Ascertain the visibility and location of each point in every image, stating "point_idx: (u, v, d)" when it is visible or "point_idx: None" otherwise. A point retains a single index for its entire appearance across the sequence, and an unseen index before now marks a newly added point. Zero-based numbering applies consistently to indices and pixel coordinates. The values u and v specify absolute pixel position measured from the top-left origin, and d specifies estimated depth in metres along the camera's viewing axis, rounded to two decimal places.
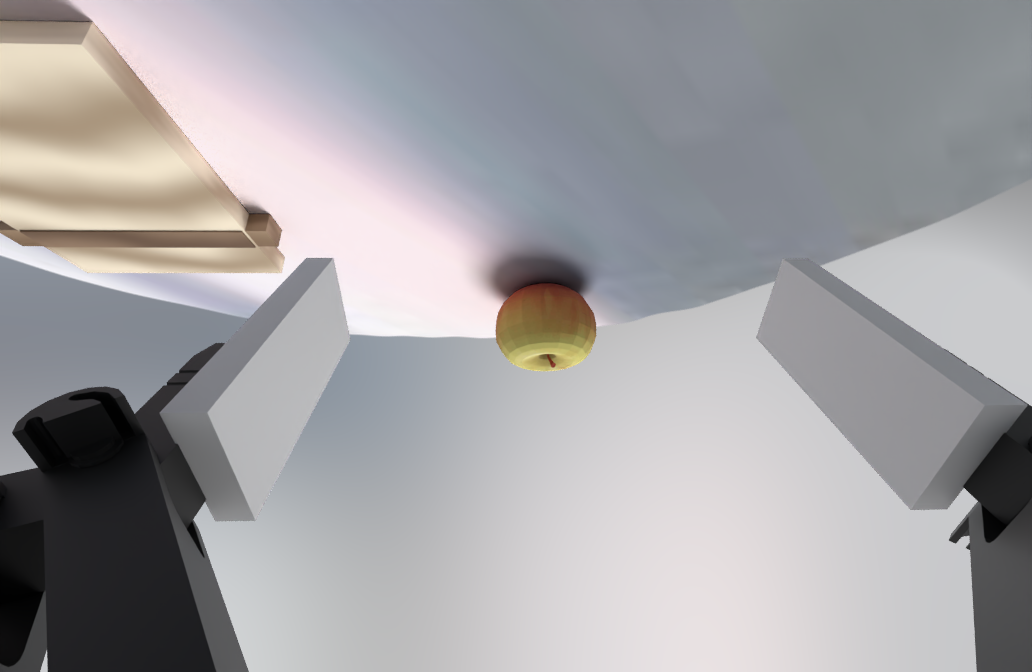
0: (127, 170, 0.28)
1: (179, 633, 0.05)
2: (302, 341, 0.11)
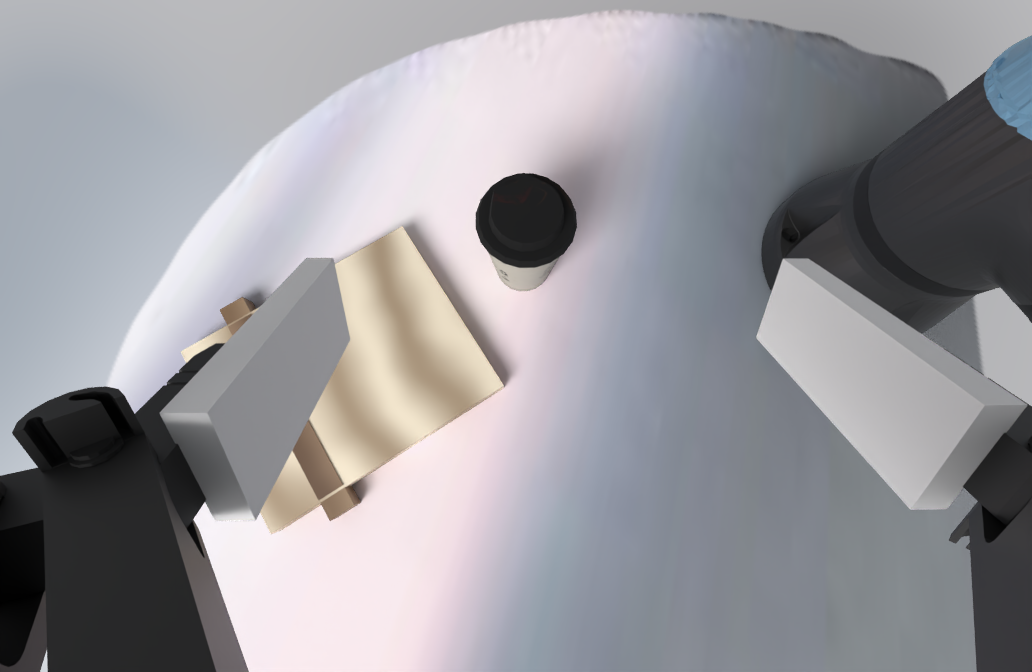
0: (391, 399, 0.35)
1: (180, 632, 0.05)
2: (302, 341, 0.11)
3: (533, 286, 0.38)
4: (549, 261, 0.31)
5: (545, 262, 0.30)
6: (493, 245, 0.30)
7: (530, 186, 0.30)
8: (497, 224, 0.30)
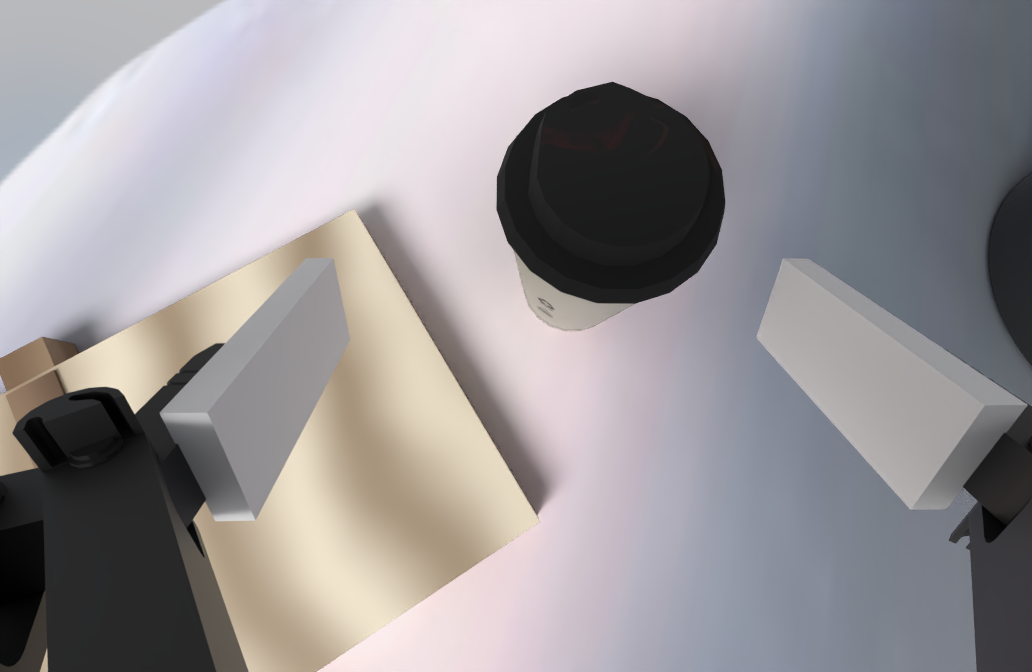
0: (318, 547, 0.18)
1: (181, 632, 0.05)
2: (302, 341, 0.11)
3: (593, 325, 0.21)
4: (667, 289, 0.13)
5: (658, 292, 0.13)
6: (538, 249, 0.13)
7: (629, 112, 0.13)
8: (551, 198, 0.12)
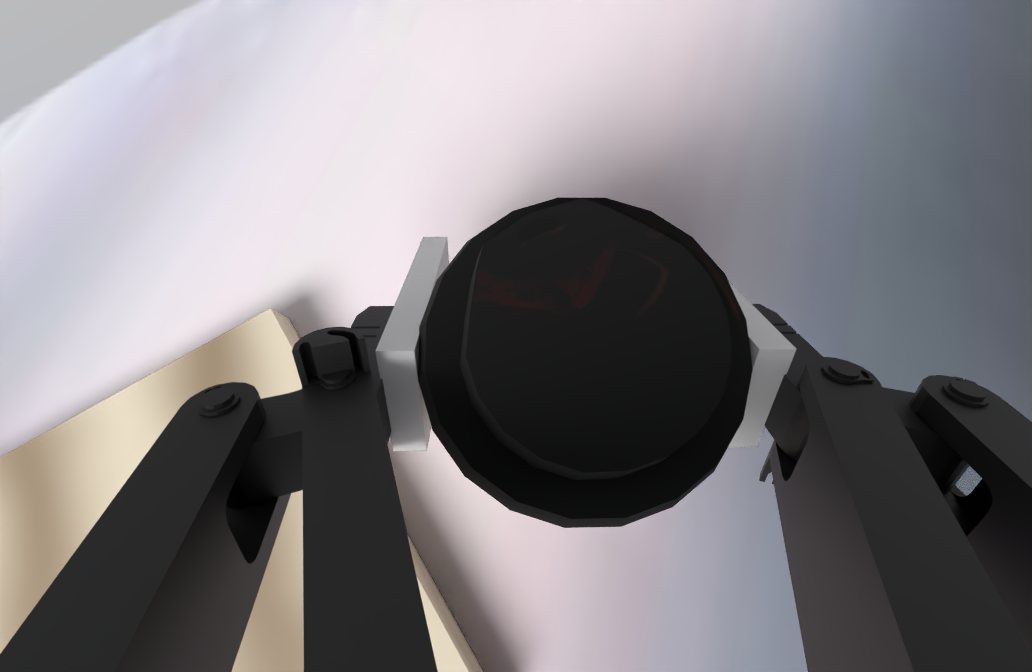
0: None
1: (393, 543, 0.06)
2: None
3: None
4: (670, 506, 0.09)
5: (657, 510, 0.09)
6: (474, 455, 0.08)
7: (608, 246, 0.09)
8: (488, 391, 0.08)
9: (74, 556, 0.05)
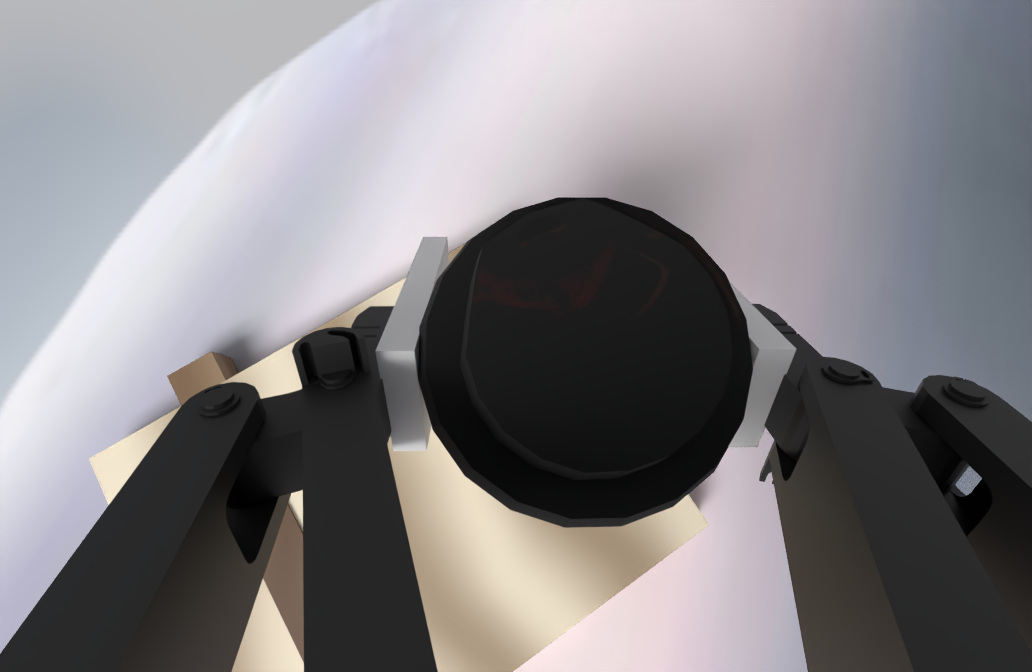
0: (498, 553, 0.18)
1: (392, 543, 0.06)
2: None
3: None
4: (670, 505, 0.09)
5: (657, 510, 0.09)
6: (474, 455, 0.08)
7: (608, 246, 0.08)
8: (488, 391, 0.08)
9: (76, 556, 0.05)
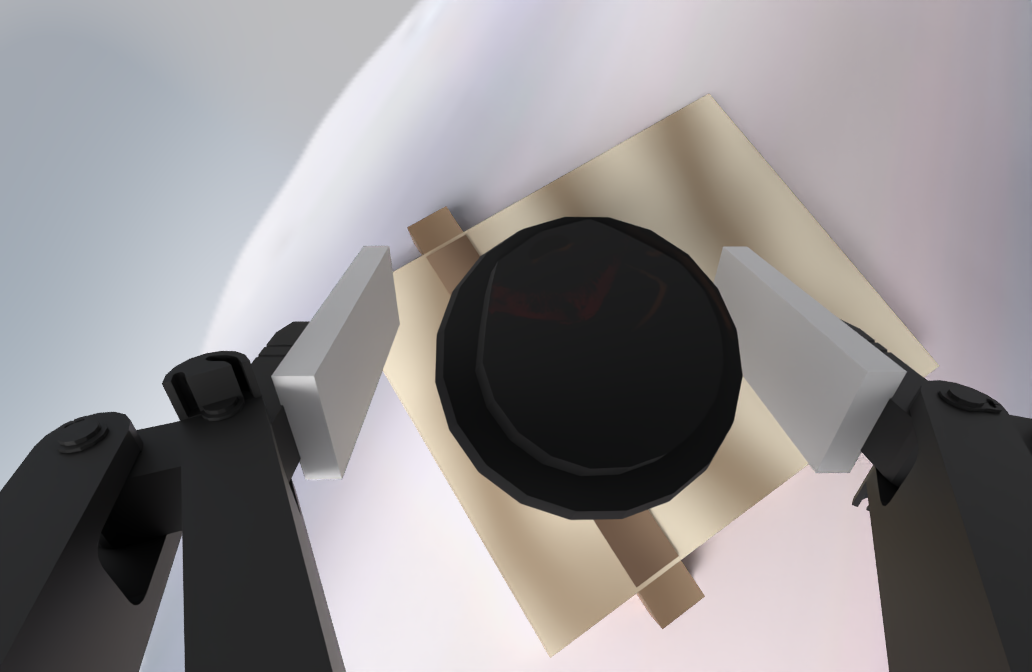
0: (741, 389, 0.19)
1: (289, 578, 0.05)
2: (370, 321, 0.12)
3: None
4: (667, 500, 0.10)
5: (655, 504, 0.10)
6: (488, 452, 0.09)
7: (612, 263, 0.09)
8: (503, 394, 0.09)
9: None
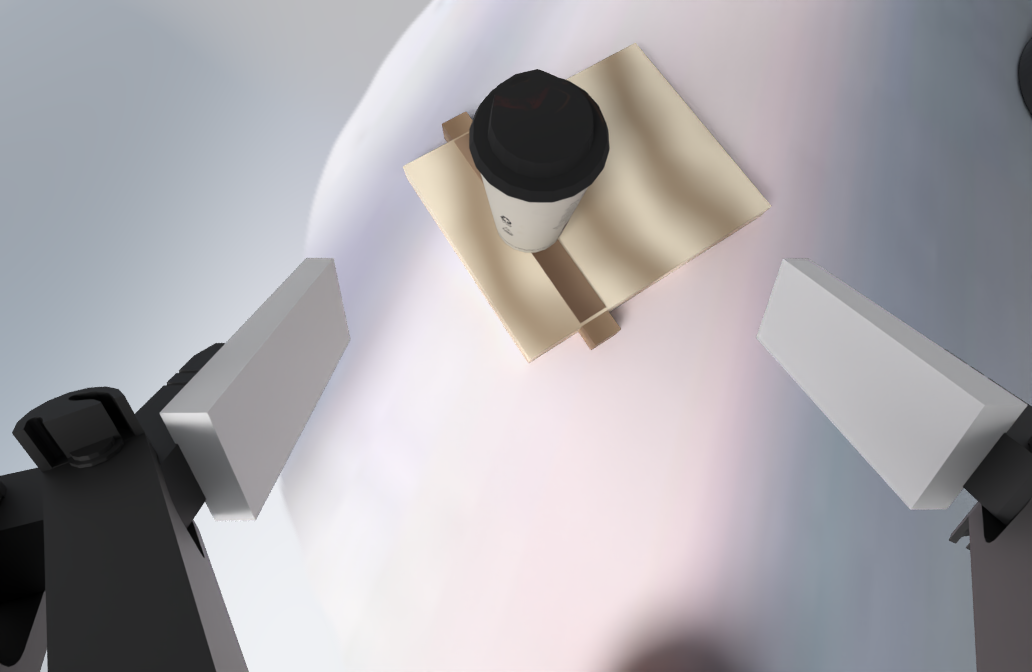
0: (647, 218, 0.31)
1: (179, 633, 0.05)
2: (302, 341, 0.11)
3: (543, 244, 0.29)
4: (572, 193, 0.22)
5: (566, 195, 0.22)
6: (493, 169, 0.21)
7: (546, 87, 0.21)
8: (499, 136, 0.21)
9: None
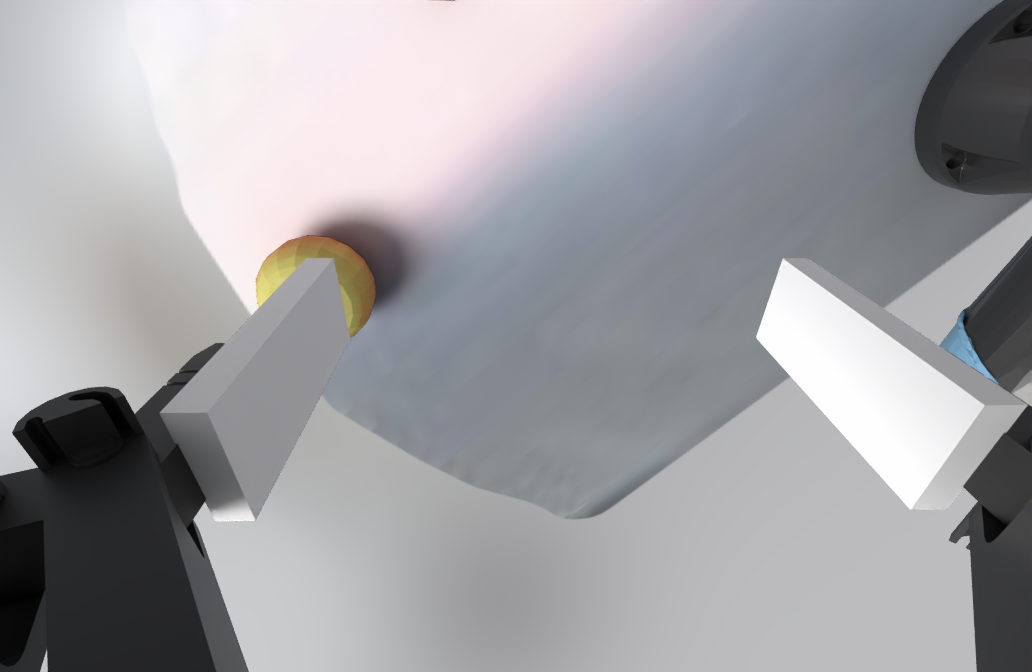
0: None
1: (179, 633, 0.05)
2: (302, 341, 0.11)
3: None
4: None
5: None
6: None
7: None
8: None
9: None
